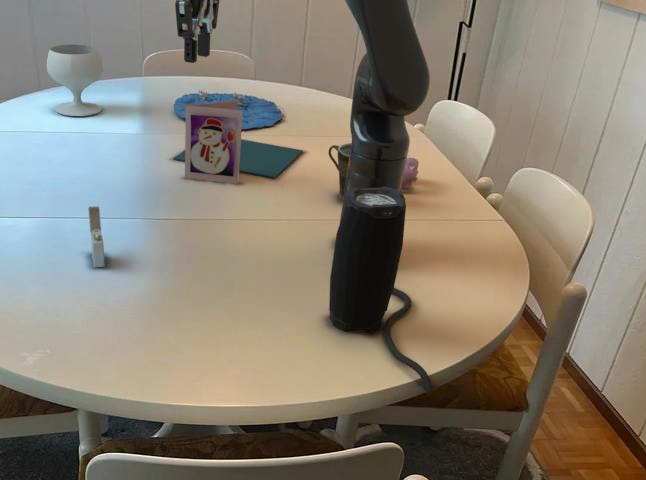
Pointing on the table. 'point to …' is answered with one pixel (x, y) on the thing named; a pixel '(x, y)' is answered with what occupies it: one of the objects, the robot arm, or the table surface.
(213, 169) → the greeting card
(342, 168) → the ceramic cup
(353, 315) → the portable speaker
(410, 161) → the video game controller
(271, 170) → the placemat
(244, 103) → the decorative plate
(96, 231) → the lighter
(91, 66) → the chalice
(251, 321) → the table surface
